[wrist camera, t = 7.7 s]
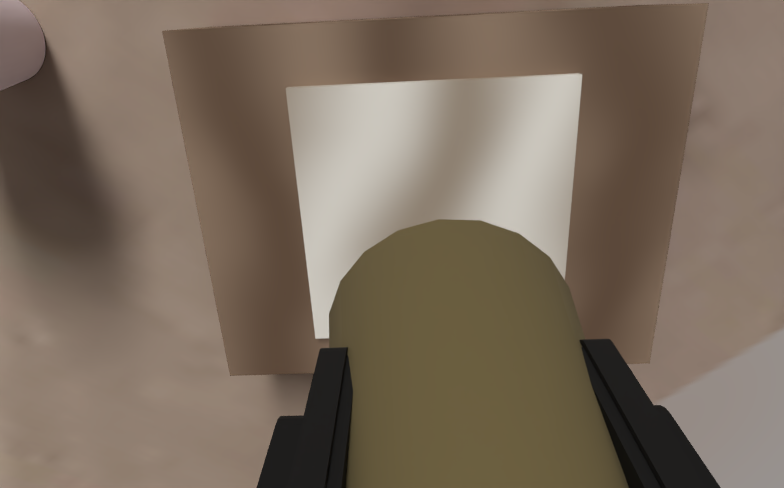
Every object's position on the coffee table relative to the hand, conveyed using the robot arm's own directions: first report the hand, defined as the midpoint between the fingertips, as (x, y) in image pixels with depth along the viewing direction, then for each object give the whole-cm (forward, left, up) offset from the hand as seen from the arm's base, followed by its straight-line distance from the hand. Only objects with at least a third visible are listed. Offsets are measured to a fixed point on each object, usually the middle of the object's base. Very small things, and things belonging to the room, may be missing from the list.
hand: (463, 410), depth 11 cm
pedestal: (0, 0, -16) cm, 16 cm away
